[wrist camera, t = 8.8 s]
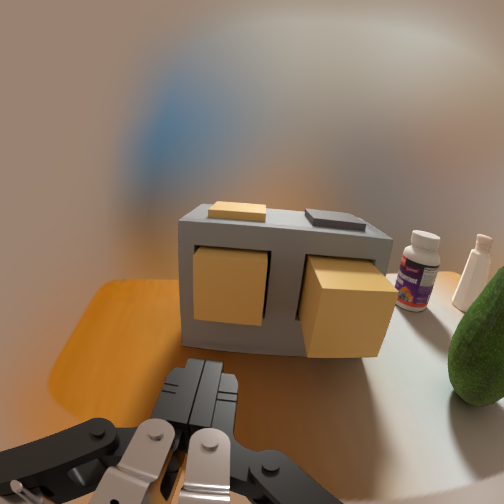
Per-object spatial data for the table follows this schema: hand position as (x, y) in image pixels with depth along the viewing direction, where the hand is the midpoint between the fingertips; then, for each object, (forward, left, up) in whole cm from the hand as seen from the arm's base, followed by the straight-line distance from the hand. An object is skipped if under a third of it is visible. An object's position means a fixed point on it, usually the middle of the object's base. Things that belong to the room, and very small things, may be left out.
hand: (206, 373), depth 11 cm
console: (-4, -14, -7) cm, 16 cm away
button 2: (-8, -9, -3) cm, 12 cm away
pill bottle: (-23, -21, -7) cm, 32 cm away
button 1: (0, -12, -3) cm, 13 cm away
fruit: (-21, -3, -7) cm, 22 cm away
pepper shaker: (-34, -20, -7) cm, 40 cm away
